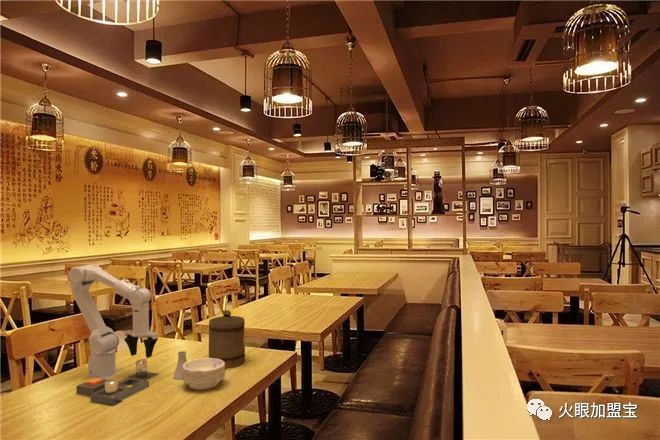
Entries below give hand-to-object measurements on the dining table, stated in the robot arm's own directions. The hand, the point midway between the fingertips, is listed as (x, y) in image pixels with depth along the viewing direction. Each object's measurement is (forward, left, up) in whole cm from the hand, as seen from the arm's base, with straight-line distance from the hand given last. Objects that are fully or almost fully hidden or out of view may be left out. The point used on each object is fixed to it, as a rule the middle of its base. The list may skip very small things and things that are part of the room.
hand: (141, 356), depth 172 cm
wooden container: (+21, +26, -9) cm, 35 cm away
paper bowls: (+27, +2, -9) cm, 28 cm away
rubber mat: (0, 0, -8) cm, 8 cm away
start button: (-6, -16, -7) cm, 19 cm away
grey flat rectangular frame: (+5, -15, -8) cm, 18 cm away
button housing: (-6, -16, -8) cm, 19 cm away
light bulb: (+5, -19, -8) cm, 21 cm away
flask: (+15, +5, -9) cm, 18 cm away
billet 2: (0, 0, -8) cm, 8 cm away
